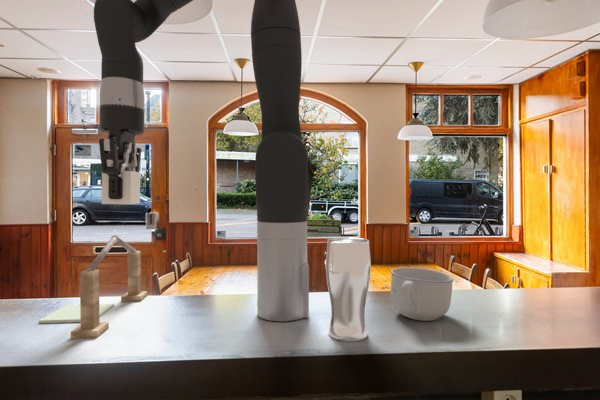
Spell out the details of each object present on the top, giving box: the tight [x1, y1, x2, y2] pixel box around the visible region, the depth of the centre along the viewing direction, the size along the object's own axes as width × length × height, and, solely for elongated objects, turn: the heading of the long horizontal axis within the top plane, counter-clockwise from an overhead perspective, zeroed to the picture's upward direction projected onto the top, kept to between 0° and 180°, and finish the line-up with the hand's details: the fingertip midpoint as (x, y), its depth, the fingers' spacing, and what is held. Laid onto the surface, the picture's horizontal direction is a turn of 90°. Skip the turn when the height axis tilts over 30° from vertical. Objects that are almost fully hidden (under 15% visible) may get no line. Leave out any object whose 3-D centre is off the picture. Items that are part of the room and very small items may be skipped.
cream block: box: [101, 171, 141, 205], centre depth 70 cm, size 5×5×6 cm
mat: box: [38, 303, 115, 324], centre depth 70 cm, size 9×9×1 cm
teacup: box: [390, 267, 454, 322], centre depth 68 cm, size 14×11×8 cm
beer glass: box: [325, 237, 372, 343], centre depth 60 cm, size 7×7×15 cm
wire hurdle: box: [70, 234, 148, 339], centre depth 71 cm, size 4×24×15 cm, turn 5°
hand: (121, 198), depth 71 cm, fingers closed on cream block, 5 cm apart
